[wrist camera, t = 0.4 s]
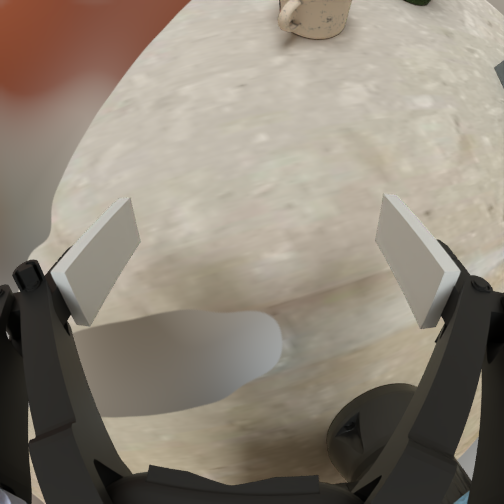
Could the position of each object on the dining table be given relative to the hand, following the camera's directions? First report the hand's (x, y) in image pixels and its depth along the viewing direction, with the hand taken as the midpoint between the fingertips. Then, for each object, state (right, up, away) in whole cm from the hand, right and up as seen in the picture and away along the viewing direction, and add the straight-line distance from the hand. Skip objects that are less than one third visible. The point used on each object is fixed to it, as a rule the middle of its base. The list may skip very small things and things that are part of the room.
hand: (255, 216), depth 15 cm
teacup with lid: (+7, +28, +14) cm, 32 cm away
